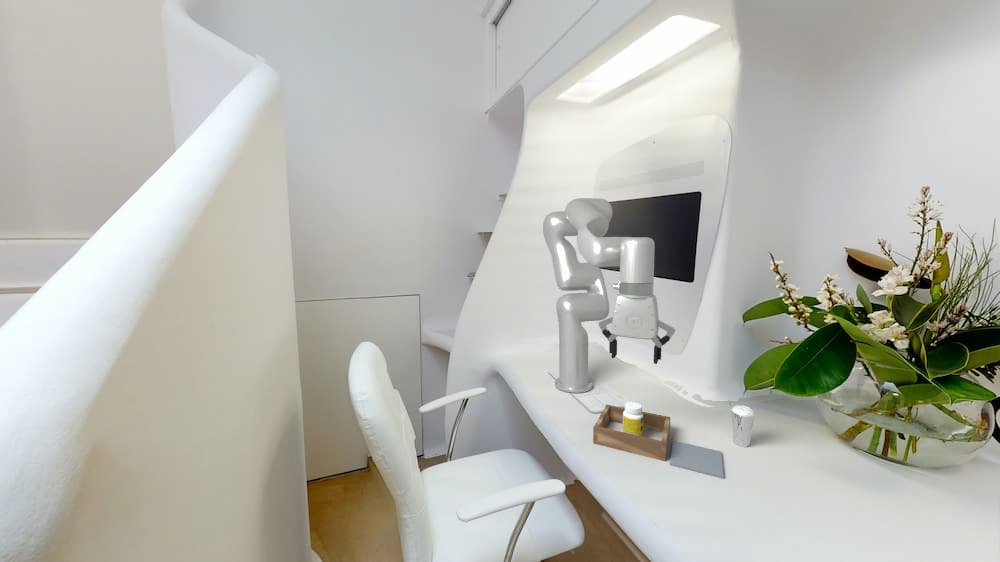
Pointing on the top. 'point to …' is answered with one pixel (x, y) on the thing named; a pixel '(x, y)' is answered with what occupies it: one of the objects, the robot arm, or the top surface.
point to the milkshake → (742, 424)
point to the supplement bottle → (633, 419)
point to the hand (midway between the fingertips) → (634, 359)
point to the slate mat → (697, 459)
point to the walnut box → (631, 441)
